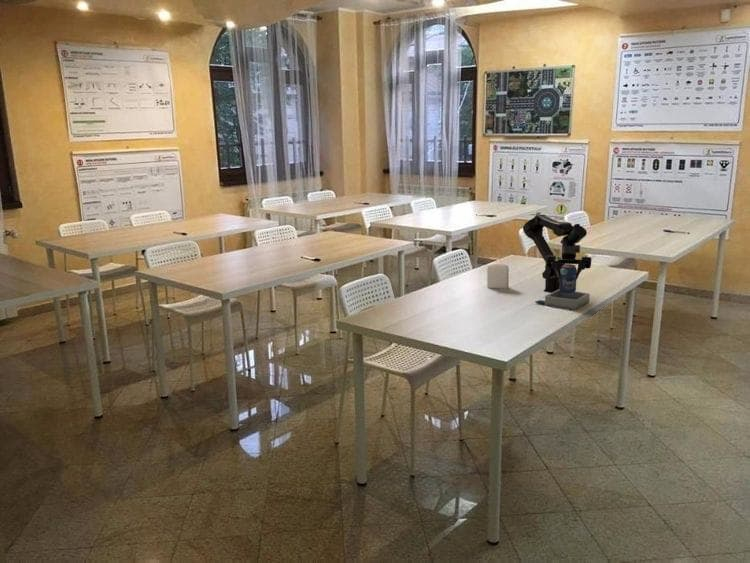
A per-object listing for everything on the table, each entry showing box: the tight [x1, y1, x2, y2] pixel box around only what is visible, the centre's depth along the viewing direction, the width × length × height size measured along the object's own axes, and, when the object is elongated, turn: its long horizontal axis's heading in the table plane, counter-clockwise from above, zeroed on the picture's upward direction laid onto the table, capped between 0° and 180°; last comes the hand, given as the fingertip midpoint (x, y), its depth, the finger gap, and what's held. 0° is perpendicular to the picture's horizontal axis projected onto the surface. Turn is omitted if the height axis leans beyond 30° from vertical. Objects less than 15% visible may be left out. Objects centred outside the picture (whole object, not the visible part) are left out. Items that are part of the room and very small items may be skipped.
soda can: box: [559, 264, 578, 294], centre depth 274 cm, size 7×7×12 cm
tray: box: [544, 289, 590, 311], centre depth 276 cm, size 14×14×4 cm
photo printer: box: [486, 262, 510, 290], centre depth 304 cm, size 10×4×12 cm, turn 70°
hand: (568, 278), depth 272 cm, fingers closed on soda can, 7 cm apart
